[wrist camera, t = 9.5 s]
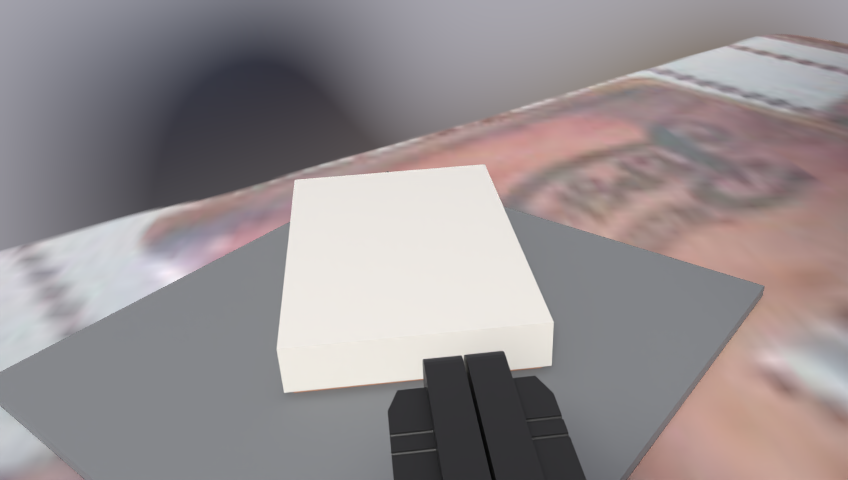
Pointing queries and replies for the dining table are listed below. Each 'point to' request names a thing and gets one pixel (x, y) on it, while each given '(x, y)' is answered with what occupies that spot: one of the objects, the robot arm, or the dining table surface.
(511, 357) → the tile
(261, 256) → the mat
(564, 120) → the dining table surface
